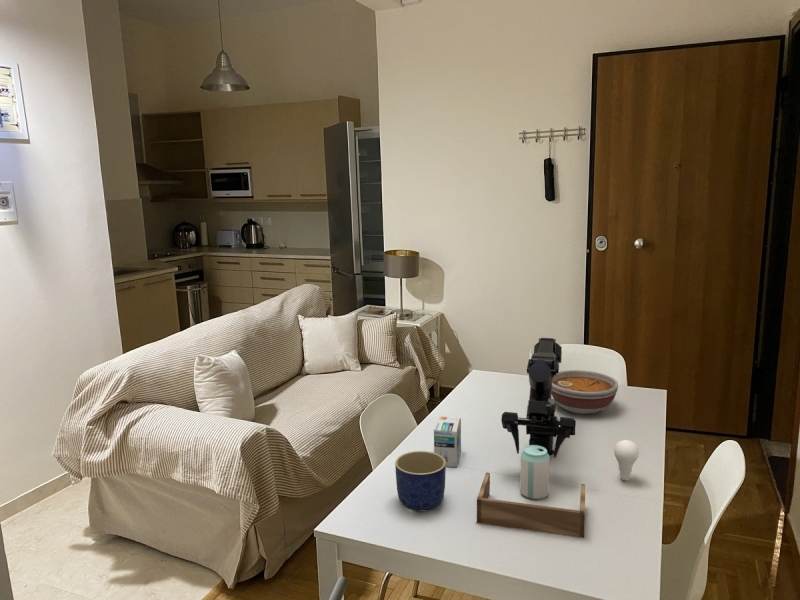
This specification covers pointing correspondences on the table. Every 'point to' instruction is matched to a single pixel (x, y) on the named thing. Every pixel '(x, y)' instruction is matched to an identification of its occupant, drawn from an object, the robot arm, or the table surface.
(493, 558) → the table surface
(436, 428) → the light bulb box
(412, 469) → the planter
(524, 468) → the can
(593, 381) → the bowl
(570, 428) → the robot arm
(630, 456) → the lightbulb
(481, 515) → the three-sided wooden tray
